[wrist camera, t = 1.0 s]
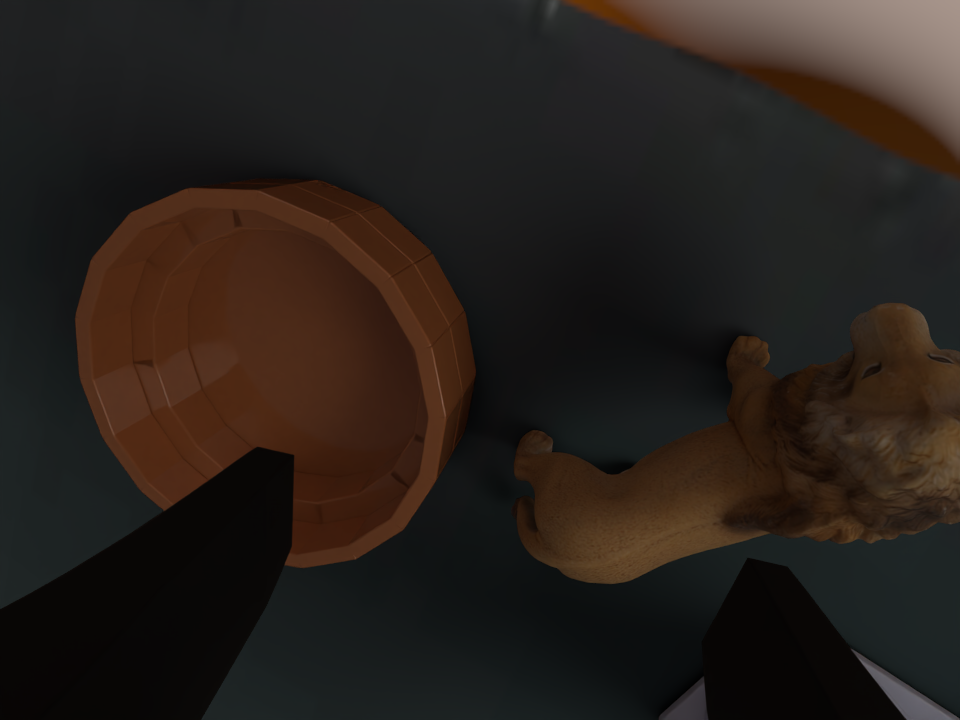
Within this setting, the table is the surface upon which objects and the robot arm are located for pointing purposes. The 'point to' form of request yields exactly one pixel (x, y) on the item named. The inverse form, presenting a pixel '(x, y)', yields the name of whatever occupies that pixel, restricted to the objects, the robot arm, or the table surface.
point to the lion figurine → (767, 461)
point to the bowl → (278, 354)
